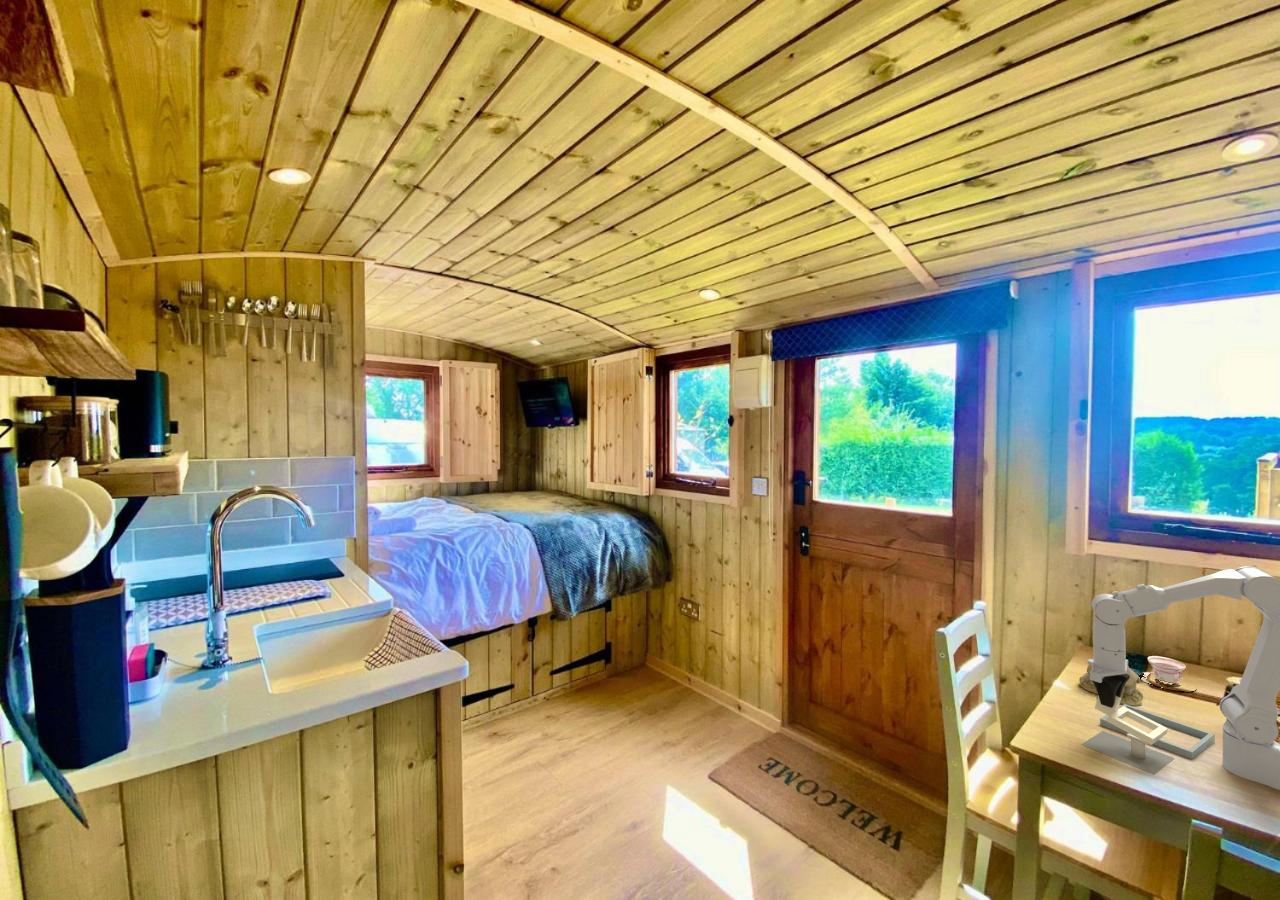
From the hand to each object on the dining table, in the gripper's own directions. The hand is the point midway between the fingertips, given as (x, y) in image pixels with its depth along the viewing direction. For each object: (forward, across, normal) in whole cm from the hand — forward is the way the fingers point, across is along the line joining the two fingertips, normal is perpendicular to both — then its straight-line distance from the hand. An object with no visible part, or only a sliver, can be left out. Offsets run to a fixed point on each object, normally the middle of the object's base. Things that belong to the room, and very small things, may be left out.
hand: (1109, 704), depth 127 cm
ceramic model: (+10, -31, -11) cm, 34 cm away
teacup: (+10, -51, -5) cm, 52 cm away
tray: (+10, -14, +4) cm, 17 cm away
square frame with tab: (+3, 0, +3) cm, 4 cm away
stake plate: (+10, +2, +4) cm, 11 cm away
